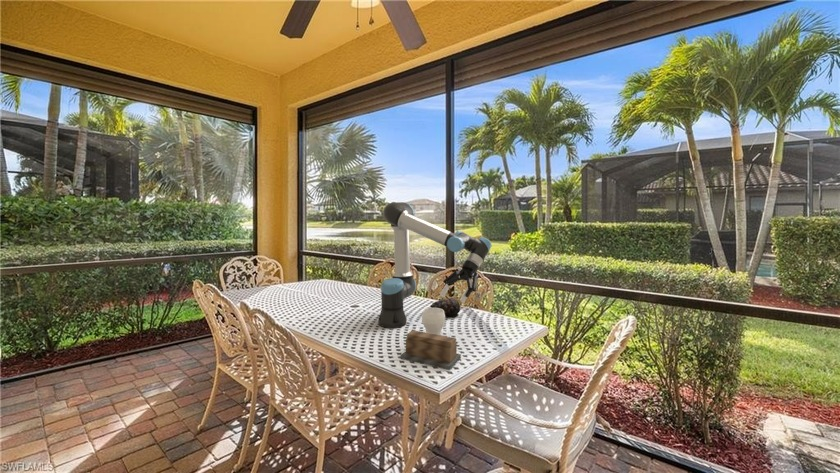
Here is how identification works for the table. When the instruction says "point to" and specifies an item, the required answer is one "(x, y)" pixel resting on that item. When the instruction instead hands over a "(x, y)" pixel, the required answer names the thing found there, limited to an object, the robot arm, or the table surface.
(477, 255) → the robot arm
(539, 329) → the table surface
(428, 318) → the cup
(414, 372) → the table surface
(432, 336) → the brown wooden block
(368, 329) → the table surface
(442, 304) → the pine cone
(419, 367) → the table surface
